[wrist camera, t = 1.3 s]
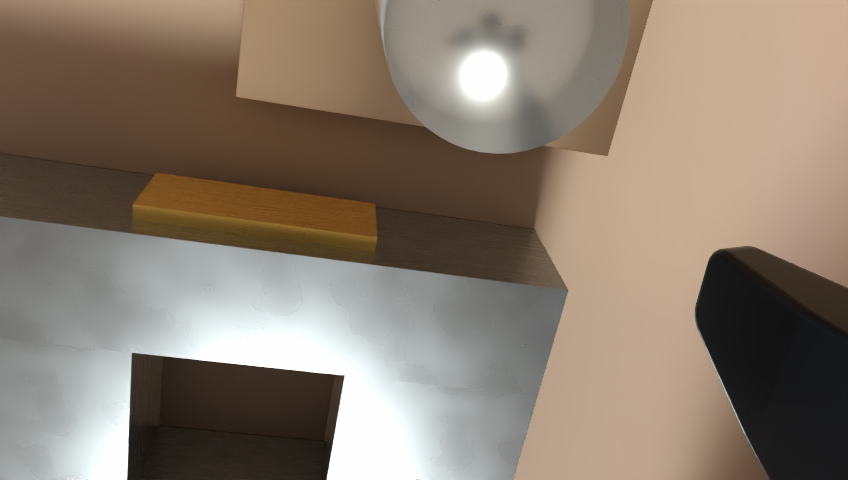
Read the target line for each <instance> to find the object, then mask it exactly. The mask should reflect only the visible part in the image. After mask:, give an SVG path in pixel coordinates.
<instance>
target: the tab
mask: <svg viewBox="0 0 848 480" xmlns="http://www.w3.org/2000/svg"><path fill="white" fill-rule="evenodd" d="M652 1H653V0H629V6H630V28H629V38H628V43H627V48H626V52H625V56H624V59H623V62H622V65H621V68H620V71H619V73H618V75H617V77H616V79H615V81H614V83H613V85H612V87H611V88H610V90H609V91H608V93H607V95H606V96H605V98H604V99H603V100H602V102H601V103H600V104H599V105H598V106H597V108H596V109H595V110H594V111H593V112H592V113H591V114H590V115H589V116H588V117H587V118H586V119H585V120H584V121H583V122H582V123H581V124H579V125H578V126H577V127H575V128H574V129H573V130H571V131H570V132H569V133H567V134H565V135H564V136H562V137H560V138H559V139H557V140H555V141H553V142H550V143H548V144H546V145H543V146H548V147H554V148H560V149H566V150H573V151H579V152H585V153H591V154H598V155H604V156H608V152H609V149H610V145H611V142H612V139H613V135H614V132H615V128H616V125H617V121H618V118H619V115H620V111H621V108H622V104H623V101H624V97H625V94H626V91H627V87H628V84H629V80H630V77H631V73H632V70H633V67H634V63H635V60H636V56H637V53H638V49H639V46H640V43H641V39H642V36H643V32H644V29H645V25H646V22H647V19H648V15H649V12H650V8H651V5H652ZM236 97H240V98H247V99H253V100H259V101H266V102H272V103H278V104H284V105H291V106H297V107H303V108H309V109H316V110H322V111H328V112H334V113H341V114H347V115H353V116H360V117H366V118H372V119H378V120H385V121H391V122H397V123H403V124H410V125H416V126H422V127H425V126H424V125H423V124H422V123H421V122H420V121H419V120H418V119H417V118H416V117H415V116H414V115H413V113H412V112H411V111H410V110H409V108H408V107H407V106H406V105H405V103H404V101H403V100H402V98H401V96H400V95H399V93H398V91H397V89H396V87H395V85H394V82H393V80H392V78H391V75H390V71H389V68H388V65H387V61H386V56H385V51H384V46H383V41H382V37H381V32H380V27H379V22H378V17H377V12H376V7H375V1H374V0H244V11H243V23H242V34H241V46H240V57H239V69H238V80H237V91H236Z"/></svg>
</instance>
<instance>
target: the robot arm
mask: <svg viewBox="0 0 848 480" xmlns="http://www.w3.org/2000/svg"><path fill="white" fill-rule="evenodd" d="M695 321H696V325H697V328H698V331H699V334H700V336H701V338H702V340H703V343H704V345H705V347H706V349H707V352H708V354H709V356H710V358H711V360H712V363H713V365H714V367H715V369H716V372H717V374H718V376H719V378H720V381H721V383H722V385H723V387H724V390H725V392H726V394H727V396H728V399H729V401H730V403H731V405H732V408H733V410H734V412H735V414H736V417H737V419H738V421H739V423H740V426H741V428H742V430H743V432H744V434H745V436H746V438H747V440H748V442H749V444H750V446H751V448H752V450H753V452H754V454H755V455H756V457H757V459H758V461H759V463H760V465H761V466H762V468H763V470H764V472H765V473H766V475H767V477H768V479H769V480H848V288H846V287H844V286H842V285H840V284H837V283H835V282H833V281H830V280H828V279H826V278H824V277H821V276H819V275H817V274H815V273H812V272H810V271H808V270H806V269H803V268H801V267H799V266H796V265H794V264H792V263H790V262H787V261H785V260H783V259H781V258H778V257H776V256H774V255H772V254H769V253H767V252H765V251H762V250H760V249H758V248H755V247H751V246H743V247H734V248H725V249H720V250H717V251H715V252H714V253H713V254H712V256H711V257H710V259H709V261H708V264H707V268H706V271H705V275H704V278H703V282H702V285H701V289H700V292H699V296H698V299H697V303H696V307H695Z"/></svg>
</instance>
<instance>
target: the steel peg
mask: <svg viewBox="0 0 848 480" xmlns="http://www.w3.org/2000/svg"><path fill="white" fill-rule="evenodd" d="M374 1H375V7H376V12H377V17H378V22H379V27H380V32H381V37H382V41H383V46H384V51H385V56H386V61H387V65H388V68H389V71H390V75H391V78H392V80H393V82H394V85H395V87H396V89H397V91H398V93H399V95H400V96H401V98H402V100H403V101H404V103H405V105H406V106H407V107H408V108H409V110H410V111H411V112H412V113H413V115H414V116H415V117H416V118H417V119H418V120H419V121H420V122H421V123H422V124H423V125H424V126H425V127H427V128H428V129H429V130H430V131H432V132H433V133H435V134H436V135H438V136H439V137H441V138H442V139H444V140H446V141H448V142H450V143H452V144H454V145H457V146H460V147H463V148H465V149H469V150H473V151H477V152H482V153H493V154H504V153H516V152H522V151H527V150H531V149H534V148H538V147H541V146H543V145H546V144H548V143H550V142H553V141H555V140H557V139H559V138H560V137H562V136H564V135H565V134H567V133H569V132H570V131H571V130H573V129H574V128H575V127H577V126H578V125H579V124H581V123H582V122H583V121H584V120H585V119H586V118H587V117H588V116H589V115H590V114H591V113H592V112H593V111H594V110H595V109H596V108H597V106H598V105H599V104H600V103H601V102H602V100H603V99H604V98H605V96H606V95H607V93H608V91H609V90H610V88H611V87H612V85H613V83H614V81H615V79H616V77H617V75H618V73H619V71H620V68H621V65H622V62H623V59H624V56H625V52H626V48H627V43H628V38H629V28H630V6H629V0H374Z"/></svg>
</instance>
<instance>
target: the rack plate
mask: <svg viewBox="0 0 848 480" xmlns="http://www.w3.org/2000/svg"><path fill="white" fill-rule="evenodd" d="M567 293H568V289H567V287H566V285H565V284H564V282H563V280H562V278H561V276H560V275H559V273H558V271H557V269H556V267H555V266H554V264H553V262H552V260H551V258H550V257H549V255H548V253H547V251H546V249H545V248H544V246H543V244H542V242H541V240H540V239H539V237H538V235H537V233H536V231H535V230H534V229H528V228H521V227H514V226H507V225H500V224H493V223H486V222H479V221H472V220H465V219H458V218H451V217H444V216H436V215H429V214H422V213H415V212H408V211H401V210H394V209H387V208H380V207H375V204H374V203H367V202H360V201H353V200H346V199H339V198H332V197H325V196H318V195H311V194H304V193H297V192H290V191H283V190H276V189H269V188H262V187H255V186H248V185H241V184H234V183H227V182H220V181H213V180H206V179H199V178H192V177H185V176H178V175H171V174H164V173H156V174H155V175H147V174H140V173H133V172H126V171H119V170H112V169H105V168H98V167H91V166H84V165H77V164H70V163H63V162H56V161H49V160H42V159H35V158H28V157H21V156H14V155H7V154H0V480H513V478H514V475H515V471H516V468H517V464H518V461H519V458H520V454H521V451H522V447H523V444H524V440H525V437H526V434H527V430H528V427H529V423H530V420H531V416H532V413H533V410H534V406H535V403H536V399H537V396H538V392H539V389H540V386H541V382H542V379H543V375H544V372H545V368H546V365H547V362H548V358H549V355H550V351H551V348H552V344H553V341H554V338H555V334H556V331H557V327H558V324H559V320H560V317H561V314H562V310H563V307H564V303H565V300H566V296H567ZM164 356H167V357H176V358H185V359H195V360H204V361H213V362H223V363H232V364H241V365H251V366H260V367H269V368H279V369H288V370H297V371H307V372H316V373H325V374H335V375H334V381H333V387H332V394H331V400H330V406H329V412H328V418H327V424H326V430H325V436H324V441H314V440H304V439H293V438H282V437H272V436H261V435H250V434H240V433H229V432H218V431H208V430H197V429H186V428H176V427H165V426H160V409H161V392H162V375H163V357H164Z"/></svg>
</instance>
